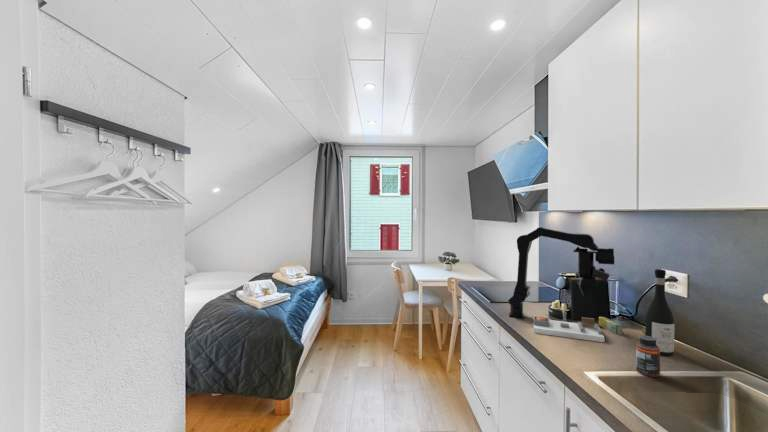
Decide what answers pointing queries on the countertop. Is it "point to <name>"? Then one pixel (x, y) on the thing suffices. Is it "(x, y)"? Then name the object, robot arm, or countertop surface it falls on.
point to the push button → (540, 318)
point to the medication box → (611, 325)
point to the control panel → (568, 330)
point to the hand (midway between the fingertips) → (585, 298)
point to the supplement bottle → (648, 357)
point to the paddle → (588, 322)
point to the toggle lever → (564, 315)
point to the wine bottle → (660, 317)
